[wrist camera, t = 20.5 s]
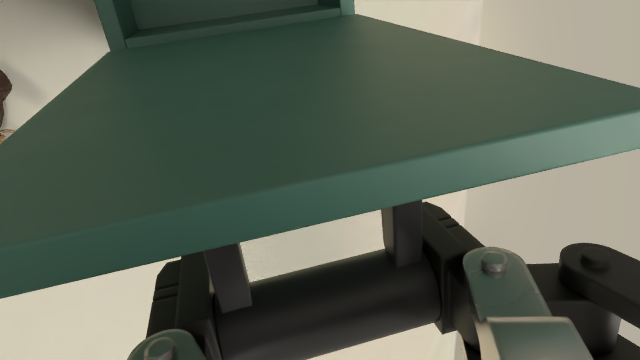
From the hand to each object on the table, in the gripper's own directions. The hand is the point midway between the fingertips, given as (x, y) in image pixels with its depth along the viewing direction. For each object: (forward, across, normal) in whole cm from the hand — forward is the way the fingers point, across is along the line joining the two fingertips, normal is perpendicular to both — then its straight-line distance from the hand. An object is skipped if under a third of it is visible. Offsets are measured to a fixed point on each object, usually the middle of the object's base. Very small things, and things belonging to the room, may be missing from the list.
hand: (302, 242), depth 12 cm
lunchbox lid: (+4, 0, -5) cm, 6 cm away
